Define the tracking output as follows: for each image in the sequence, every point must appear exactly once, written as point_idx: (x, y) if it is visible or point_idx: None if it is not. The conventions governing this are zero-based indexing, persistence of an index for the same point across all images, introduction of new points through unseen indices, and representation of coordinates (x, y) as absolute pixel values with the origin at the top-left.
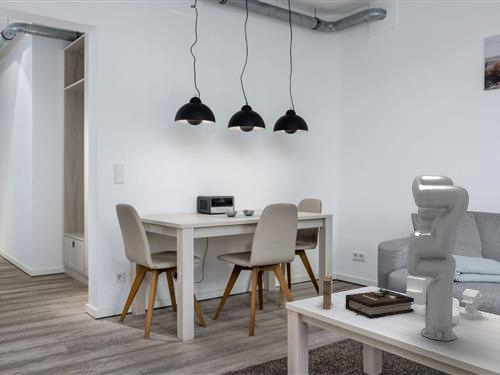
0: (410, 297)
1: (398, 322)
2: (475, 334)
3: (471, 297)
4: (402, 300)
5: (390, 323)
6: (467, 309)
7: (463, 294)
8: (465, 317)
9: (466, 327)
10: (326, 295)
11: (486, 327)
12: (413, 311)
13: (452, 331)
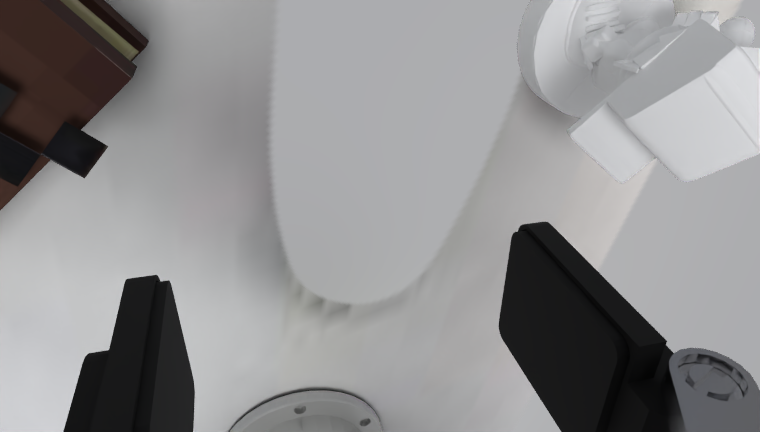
0: (96, 157)
1: (70, 352)
2: (478, 361)
3: (667, 167)
4: (17, 192)
5: (21, 389)
6: (591, 68)
7: (636, 130)
8: (536, 94)
9: (472, 278)
10: None
11: (579, 236)
12: (146, 43)
13: (374, 420)
